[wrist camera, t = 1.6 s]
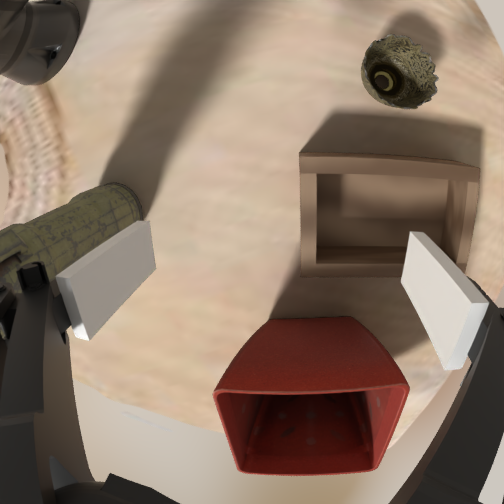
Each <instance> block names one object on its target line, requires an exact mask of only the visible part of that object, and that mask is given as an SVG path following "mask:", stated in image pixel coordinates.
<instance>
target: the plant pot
mask: <svg viewBox="0 0 504 504" xmlns="http://www.w3.org/2000/svg"><path fill="white" fill-rule="evenodd" d="M409 391H410V387H409V385H408V383H407V381H406V379H405V377H404V375H403V373H402V372H401V370H400V368H399V367H398V365H397V364H396V362H395V361H394V360H393V358H392V357H391V355H390V354H389V353H388V351H387V350H386V349H385V347H384V346H383V345H382V344H381V343H380V342H379V340H378V339H377V338H376V337H375V336H374V335H373V334H372V333H371V332H370V331H369V330H368V329H367V328H365V327H364V326H363V325H362V324H361V323H360V322H358V321H357V320H356V319H354V318H353V317H330V318H305V319H272V320H269V321H267V322H266V323H265V324H264V325H262V326H261V327H260V328H259V329H258V330H257V331H256V332H255V333H254V334H253V335H252V336H251V337H250V338H249V340H248V341H247V342H246V343H245V344H244V345H243V347H242V348H241V349H240V351H239V352H238V353H237V355H236V356H235V357H234V359H233V360H232V362H231V363H230V365H229V366H228V368H227V369H226V371H225V373H224V374H223V376H222V378H221V379H220V381H219V383H218V385H217V386H216V388H215V390H214V392H213V398H214V401H215V405H216V407H217V410H218V413H219V416H220V419H221V422H222V425H223V428H224V431H225V434H226V437H227V440H228V443H229V446H230V449H231V452H232V455H233V458H234V461H235V464H236V467H237V469H238V470H239V471H240V472H242V473H247V474H260V475H281V476H282V475H283V476H313V475H337V474H350V473H361V472H369V471H373V470H375V469H377V468H378V466H379V464H380V462H381V460H382V458H383V456H384V454H385V452H386V449H387V447H388V445H389V442H390V440H391V438H392V435H393V433H394V431H395V428H396V426H397V423H398V421H399V418H400V415H401V413H402V410H403V408H404V405H405V402H406V400H407V397H408V394H409Z"/></svg>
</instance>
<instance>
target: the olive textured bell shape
mask: <svg viewBox="0 0 504 504" xmlns="http://www.w3.org/2000/svg"><path fill="white" fill-rule="evenodd" d="M422 47H423V46H421V45H419V44H417V45H415V44H414V43H413V42H412V40H411V39H410V38H409V37H407V36H395V35H394V34H389V35H387V37H385V38H384V39H379V40H378V41H376V40H375V41H373V42H372V43H371V45H370V47H369V48H368V49H367V51H366V53H365V57H364V60H363V63H362V67H361V77H362V81H363V84H364V86H365V88H366V90H367V91H368V93H369V94H370V95H371V96H372V97H373V98H374V99H376V100H377V101H379V102H380V103H382V104H385V105H388V106H391V107H396V108H401V109H417V108H418V107H417V106H420V105H422V104H423V103H425V102H429V101H430V100H431V97H432V96H433V95H435V94H436V93H437V87H436V86H435V82H436V81H437V80H438V79H439V78H438V76H437V75H434V74H433V73H434V72H435V64H434V63H433V62H432V61H431V56H430V55H429V54H428V53H425V52H421V50H422ZM379 75H382V76H385V77H386V78H387V79H388V81H389V85H388V87H387V88H384V89H382V88H379V87H378V86H377V84H376V82H375V79H376V77H377V76H379Z"/></svg>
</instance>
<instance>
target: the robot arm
mask: <svg viewBox="0 0 504 504" xmlns="http://www.w3.org/2000/svg"><path fill="white" fill-rule="evenodd" d="M28 1H29V0H0V75H3V76H5V77H7V78H9V79H11V80H14V81H16V82H18V83H20V84H23V85H40V84H43V83H45V82H47V81H48V80H50V79H51V78H52V77H54V76H55V75H56V74H57V73H58V71H59V70H60V69H61V68H62V67H63V65H64V64H65V62H66V61H67V59H68V57H69V56H70V54H71V52H72V49H73V47H74V45H75V42H76V39H77V35H78V31H79V13H78V10H77V8H76V7H75V6H74V5H73V4H72V3H70V2H68V1H65V0H39V1H32V2H28ZM155 269H156V264H155V258H154V251H153V244H152V236H151V228H150V221H136V222H135V223H133V224H131V225H130V226H128V227H127V228H125V229H124V230H122V231H120V232H119V233H117V234H116V235H114V236H113V237H111V238H110V239H108V240H107V241H105V242H104V243H102V244H101V245H99V246H98V247H96V248H95V249H93V250H92V251H90V252H89V253H87V254H86V255H85V256H83V257H82V258H80V259H79V260H77V261H76V262H75V263H73V264H72V265H70V266H69V267H68V268H66V269H65V270H63V271H62V272H61V273H59V274H58V275H57V276H55V277H56V278H55V279H54V280H53V281H51V282H49V278H48V275H47V271H46V268H45V264H44V262H43V261H33V262H30V263H27V264H25V265H23V266H21V267H20V268H18V269H17V271H16V273H17V276H18V280H19V283H20V286H21V289H22V292H21V293H15V292H14V289H13V286H12V283H9V282H6V283H0V326H1V328H2V331H3V333H4V335H5V336H4V338H2V336H1V333H0V504H180V503H178V502H176V501H174V500H172V499H170V498H168V497H166V496H165V495H163V494H161V493H159V492H157V491H156V490H154V489H152V488H150V487H147V486H144V485H141V484H138V483H135V482H132V481H129V480H127V479H124V478H122V477H119V476H116V475H114V474H111V473H110V474H109V476H108V478H107V480H106V481H105V482H96V481H95V480H94V478H93V477H92V474H91V472H90V469H89V467H88V462H87V459H86V454H85V450H84V445H83V441H82V436H81V431H80V426H79V421H78V415H77V409H76V402H75V395H74V388H73V380H72V370H71V360H70V346H69V337H68V334H67V331H66V330H67V329H68V328H69V327H70V326H72V329H73V331H74V334H75V337H77V338H81V339H84V340H88V341H90V340H91V339H92V337H93V336H94V335H95V334H96V333H97V332H98V331H99V330H100V328H101V327H102V326H103V325H104V324H105V323H106V322H107V321H108V320H109V318H110V317H111V316H112V315H113V314H114V313H115V312H116V311H117V310H118V309H119V307H120V306H121V305H122V304H123V303H124V302H125V301H126V300H127V299H128V298H129V297H130V296H131V295H132V294H133V292H134V291H135V290H136V289H137V288H138V287H139V286H140V285H141V284H142V283H143V282H144V281H145V280H146V279H147V278H148V277H149V276H150V275H151V274H152V273H153V272H154V270H155ZM401 283H402V285H403V287H404V289H405V291H406V292H407V294H408V296H409V298H410V300H411V302H412V304H413V306H414V308H415V309H416V311H417V313H418V315H419V317H420V319H421V321H422V323H423V325H424V327H425V329H426V331H427V333H428V336H429V338H430V340H431V342H432V344H433V346H434V348H435V350H436V353H437V355H438V357H439V359H440V362H441V364H442V366H443V368H444V370H454V369H461V368H462V366H463V364H464V362H465V360H466V358H467V356H469V358H470V360H471V362H472V363H471V365H470V367H469V369H468V371H467V373H466V375H465V377H464V379H463V381H462V382H461V384H460V386H461V388H460V389H459V392H458V394H457V396H456V398H455V400H454V402H453V404H452V406H451V408H450V410H449V412H448V414H447V416H446V418H445V420H444V421H443V423H442V425H441V427H440V429H439V430H438V432H437V434H436V436H435V437H434V439H433V441H432V442H431V444H430V446H429V447H428V449H427V450H426V452H425V454H424V455H423V457H422V459H421V460H420V461H419V463H418V465H417V466H416V467H415V469H414V470H413V472H412V473H411V475H410V476H409V477H408V479H407V480H406V482H405V483H404V484H403V486H402V487H401V488H400V490H399V491H398V492H397V494H396V495H395V496H394V498H393V499H392V500H391V501H390V503H389V504H483V503H481V502H478V498H479V495H480V492H481V490H482V488H483V486H484V484H485V481H486V479H487V477H488V474H489V472H490V469H491V467H492V464H493V462H494V459H495V456H496V454H497V451H498V448H499V445H500V442H501V439H502V436H503V433H504V308H498V307H497V306H496V305H495V303H494V302H493V301H492V300H491V299H490V298H489V296H488V295H486V293H485V292H484V291H483V290H481V287H480V286H479V285H478V284H477V283H476V282H475V281H474V280H472V279H470V278H469V277H467V276H466V275H465V274H464V273H463V272H462V271H461V270H460V269H459V268H458V267H457V266H456V265H455V264H454V262H453V261H452V260H451V259H450V258H449V257H448V256H447V255H446V254H445V253H444V252H443V251H442V250H441V249H440V248H439V247H438V246H437V245H436V244H435V243H434V242H433V241H432V240H431V239H430V238H429V237H428V236H427V235H426V234H425V233H424V232H413V231H410V235H409V241H408V247H407V253H406V258H405V263H404V269H403V274H402V278H401ZM502 504H504V497H503V502H502Z"/></svg>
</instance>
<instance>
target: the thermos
mask: <svg viewBox="0 0 504 504" xmlns="http://www.w3.org/2000/svg"><path fill="white" fill-rule="evenodd" d="M142 218H143V215H142V208H141V205H140V203H139V200H138V198H137V196H136V195H135V194H134V193H133V191H132V190H131V189H129V188H128V187H126V186H125V185H122V184H119V183H110V184H106V185H104V186H98V187H95V188H93V189H90V190H87V191H85V192H82V193H80V194H78V195H77V196H75V197H73V198H72V199H71V201H70V202H69V203H68V204H65V205H63V206H61V207H59V208H56V209H54V210H52V211H50V212H48V213H46V214H44V215H41V216H39V217H37V218H35V219H33V220H31V221H29V222H27V223H25V224H12V225H10V226H8V227H6V228H4V229H3V230H1V231H0V283H6V282H9V283H12V286H13V289H14V292H15V293H21V292H22V289H21V286H20V283H19V280H18V276H17V273H16V271H17V269H18V268H20V267H21V266H23V265H25V264H27V263H30V262H33V261H43V262H44V264H45V268H46V271H47V275H48V278H49V282H51V281H53V280H54V279H55V278H56V277H55V276H57V275H58V274H59V273H61V272H62V271H63V270H65V269H66V268H68V267H69V266H70V265H72V264H73V263H75V262H76V261H77V260H79V259H80V258H82V257H83V256H85V255H86V254H87V253H89V252H90V251H92V250H93V249H95V248H96V247H98V246H99V245H101V244H102V243H104V242H105V241H107V240H108V239H110V238H111V237H113V236H114V235H116V234H117V233H119V232H120V231H122V230H124V229H125V228H127V227H128V226H130V225H131V224H133V223H135V222H136V221H142ZM0 333H1V336H2V338H4V336H5V335H4V333H3V331H2V328H1V326H0Z"/></svg>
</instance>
